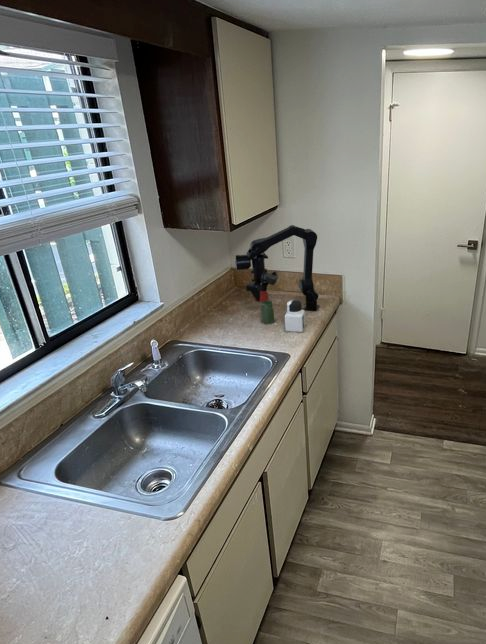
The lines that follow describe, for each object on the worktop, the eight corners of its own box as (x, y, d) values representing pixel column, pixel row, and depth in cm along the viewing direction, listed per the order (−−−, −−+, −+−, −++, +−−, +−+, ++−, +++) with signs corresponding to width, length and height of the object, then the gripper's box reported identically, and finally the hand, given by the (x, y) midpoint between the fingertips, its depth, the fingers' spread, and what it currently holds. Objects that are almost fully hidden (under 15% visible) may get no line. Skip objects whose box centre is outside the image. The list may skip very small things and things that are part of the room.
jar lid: (265, 302, 206) (264, 296, 205) (252, 301, 207) (251, 295, 206) (270, 297, 212) (269, 291, 210) (257, 296, 213) (257, 290, 212)
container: (305, 325, 201) (304, 298, 196) (302, 332, 194) (301, 305, 189) (288, 324, 202) (287, 298, 197) (285, 331, 195) (283, 304, 190)
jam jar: (265, 318, 208) (263, 299, 204) (276, 319, 207) (275, 301, 203) (260, 323, 203) (258, 304, 199) (271, 324, 202) (270, 305, 198)
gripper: (266, 275, 193) (269, 307, 199) (282, 263, 210) (284, 293, 216) (243, 273, 195) (247, 305, 202) (260, 261, 212) (263, 291, 218)
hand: (261, 298), depth 209 cm, fingers closed on jar lid, 6 cm apart
